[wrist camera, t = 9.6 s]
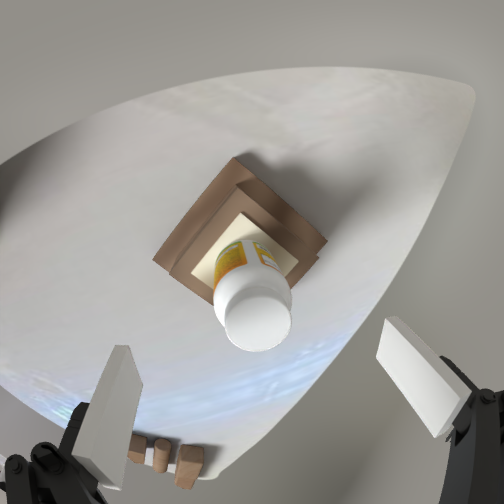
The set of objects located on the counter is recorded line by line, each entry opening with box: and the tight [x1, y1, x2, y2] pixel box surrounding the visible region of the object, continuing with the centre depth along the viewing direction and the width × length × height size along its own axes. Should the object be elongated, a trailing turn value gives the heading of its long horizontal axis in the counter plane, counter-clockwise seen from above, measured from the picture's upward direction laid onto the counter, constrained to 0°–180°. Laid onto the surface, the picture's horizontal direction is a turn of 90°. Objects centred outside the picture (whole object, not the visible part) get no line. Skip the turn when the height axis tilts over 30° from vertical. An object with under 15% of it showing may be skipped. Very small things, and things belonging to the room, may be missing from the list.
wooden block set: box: [127, 434, 204, 489], centre depth 42 cm, size 17×6×18 cm
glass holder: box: [0, 464, 6, 492], centre depth 45 cm, size 9×14×15 cm, turn 29°
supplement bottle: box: [213, 240, 292, 352], centre depth 20 cm, size 5×5×10 cm
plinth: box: [152, 158, 327, 306], centre depth 28 cm, size 14×14×7 cm
